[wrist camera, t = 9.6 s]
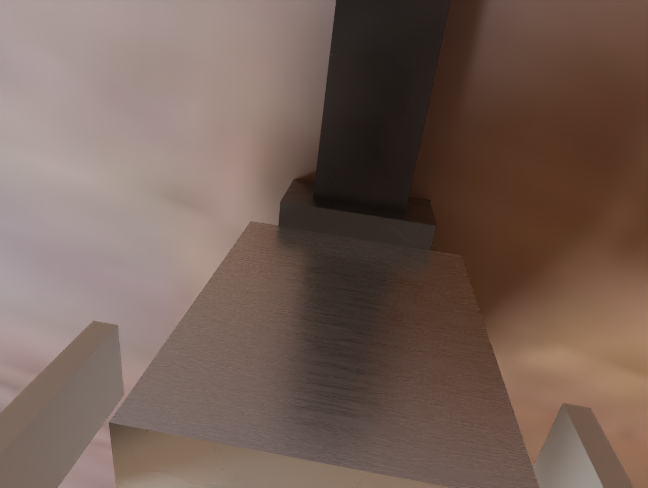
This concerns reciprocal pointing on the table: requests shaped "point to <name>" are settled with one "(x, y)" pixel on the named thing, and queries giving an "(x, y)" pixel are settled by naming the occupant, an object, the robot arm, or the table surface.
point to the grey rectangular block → (324, 376)
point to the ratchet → (373, 125)
